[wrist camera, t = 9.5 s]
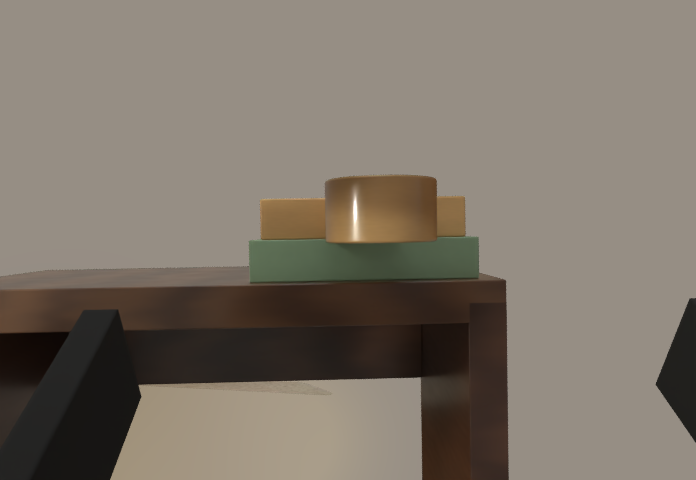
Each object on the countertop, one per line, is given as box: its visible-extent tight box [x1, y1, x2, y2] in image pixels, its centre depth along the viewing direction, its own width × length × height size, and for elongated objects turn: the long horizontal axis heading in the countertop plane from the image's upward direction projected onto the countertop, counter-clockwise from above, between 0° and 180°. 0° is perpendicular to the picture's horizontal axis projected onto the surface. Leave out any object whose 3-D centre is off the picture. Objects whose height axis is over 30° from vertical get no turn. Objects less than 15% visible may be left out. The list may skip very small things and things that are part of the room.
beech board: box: [260, 175, 465, 243], centre depth 27 cm, size 21×10×2 cm, turn 2°
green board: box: [249, 236, 479, 283], centre depth 32 cm, size 11×12×2 cm
